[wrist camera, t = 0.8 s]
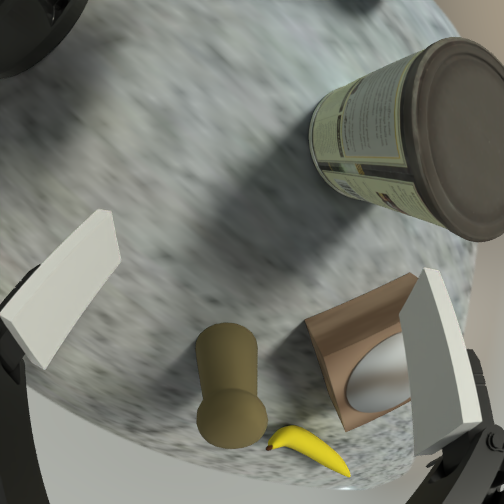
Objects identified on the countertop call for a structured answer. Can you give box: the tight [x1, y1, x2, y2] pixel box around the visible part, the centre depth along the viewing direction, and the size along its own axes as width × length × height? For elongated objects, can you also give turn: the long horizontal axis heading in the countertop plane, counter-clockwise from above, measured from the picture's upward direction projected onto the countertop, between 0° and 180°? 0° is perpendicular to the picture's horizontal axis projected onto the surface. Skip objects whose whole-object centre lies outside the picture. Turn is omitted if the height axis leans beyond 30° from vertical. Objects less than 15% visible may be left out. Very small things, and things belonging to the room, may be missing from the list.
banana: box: [266, 425, 351, 477], centre depth 32 cm, size 3×19×6 cm, turn 42°
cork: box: [195, 323, 268, 449], centre depth 23 cm, size 6×6×11 cm
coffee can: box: [308, 37, 504, 242], centre depth 17 cm, size 10×10×14 cm
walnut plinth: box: [305, 273, 418, 432], centre depth 27 cm, size 12×12×6 cm
